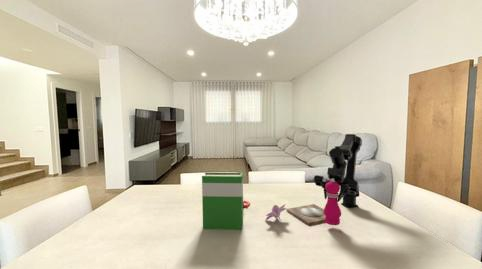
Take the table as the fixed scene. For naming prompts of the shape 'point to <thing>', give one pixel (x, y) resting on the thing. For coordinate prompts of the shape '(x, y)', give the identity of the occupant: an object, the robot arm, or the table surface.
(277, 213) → the lily
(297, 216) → the brown flat square slab
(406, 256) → the table surface
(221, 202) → the hardback book
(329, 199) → the pepper mill
